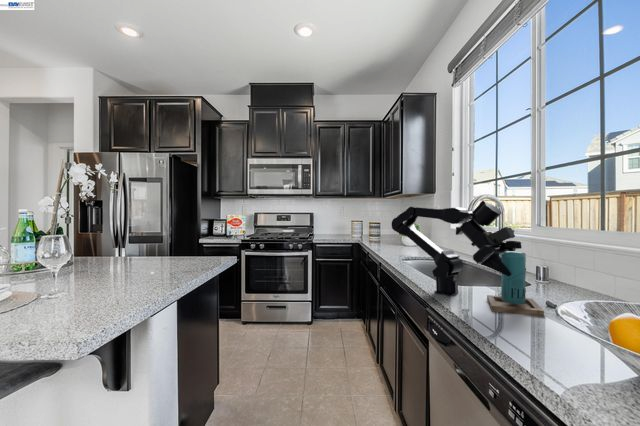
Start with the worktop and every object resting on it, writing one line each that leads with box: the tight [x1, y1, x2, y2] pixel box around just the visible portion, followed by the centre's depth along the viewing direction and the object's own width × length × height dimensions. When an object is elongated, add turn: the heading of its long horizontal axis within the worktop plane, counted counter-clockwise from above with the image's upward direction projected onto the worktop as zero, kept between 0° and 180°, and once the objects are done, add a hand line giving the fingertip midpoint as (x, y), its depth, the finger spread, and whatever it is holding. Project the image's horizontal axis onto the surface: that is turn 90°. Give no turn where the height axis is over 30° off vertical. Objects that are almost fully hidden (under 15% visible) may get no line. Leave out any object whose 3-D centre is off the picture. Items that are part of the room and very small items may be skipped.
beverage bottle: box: [500, 240, 527, 304], centre depth 88 cm, size 6×7×20 cm
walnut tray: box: [486, 294, 545, 318], centre depth 88 cm, size 13×13×2 cm
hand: (516, 273), depth 87 cm, fingers open, 9 cm apart
